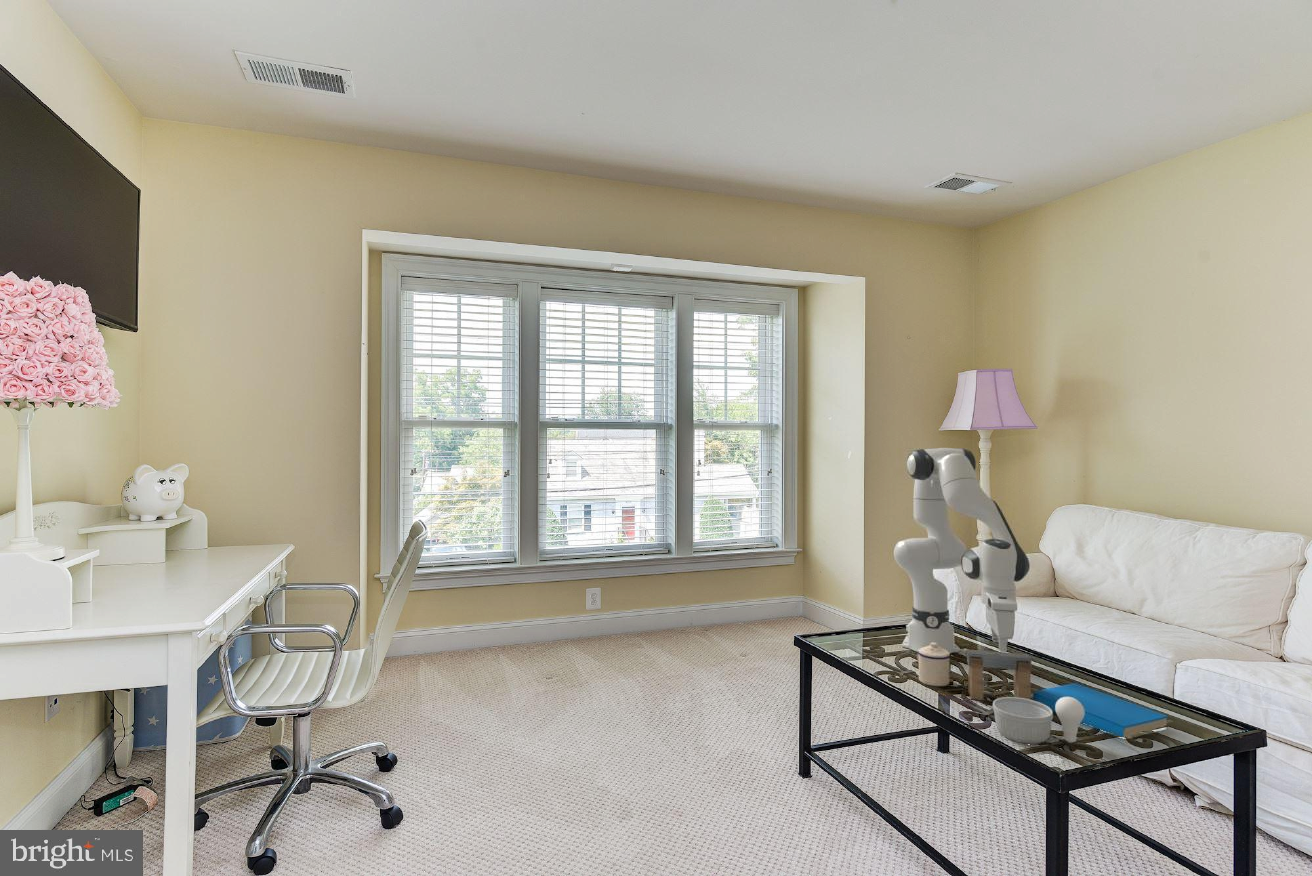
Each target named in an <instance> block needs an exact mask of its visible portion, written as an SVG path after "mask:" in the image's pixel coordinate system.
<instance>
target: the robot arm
mask: <svg viewBox="0 0 1312 876" xmlns="http://www.w3.org/2000/svg"><path fill="white" fill-rule="evenodd" d="M976 468H977V461H976V457H975V456H974V454H973V452H972V451H971V450H968V449H966V448H959V447H958V448H951V447H939V448H937V447H936V448H926V449H923V448H921V449H920V448H919V449H915V450H913V451H911V452H910V453H909V455H908V457H907V459H906V469H907V472H908V474H909V476H910V477H911V478H912V479H914V483H913V520H914V521H915V523H916V524H917V525H918V526H921V527H923V528H925V530H926V532H927V537H912V538H907V539H903V540H899V541H898V542H897V543H896V545H895V546H894V548H893V549H894V550H893V558H894V560H895V563H896V564H897V565H898V566H899V567H900V568H901V569H902V570H903V571H904V572H906V574H907V575H908V577H909V579H910V581H911V585H912V591H913V592H912V593H913V595H912V596H913V607H912V609H911V614H912V619H911V621H910V622H909V623H908V624H906V625H905V627H906V628H905V631H906V632H908V633H906V636H905V638H904V640H903V642H902V643H901V644H902V645H901V647H902V648H906V649H910V650H912V651H914V652H917V653H918V650H919V649H920V648H923V647H927V646H930V643H937V646H938V647H940V648H942V649H944V650H946V651H948V652H949V654H950V655H951V654H952V653H959V652H961V648H960V646H958V645H957V644H956V643H955V628H954V626H953V625H952V623H950V622H949V621H950V609H948V607H949V606H948V605H949V603H948V601H949V600H948V599H949V598H948V596H949V595H948V589H947V586H946V585H945V583H944V582H942V581H941V580H938V579H936V578H935V576H934V570H944V569H945V570H946V569H947V570H949V569H954V568H958V567H961V571H962V572H963V574H965V576H966V577H968V578H969V579H971V580H973V581H981V585H980V591H981V592H980V594H981V595H980V596H981V599H980V601H981V603H982V604H984V605H985V621H986V623H987V624H988V625H989V626H990V633H991V640H992V643H993V642H994V643H998V646H997V647H998V650H999V652H1006V653H1007V648H1008V647H1007V645H1008V642H1009V640H1012V639H1013V638H1014V636H1015V635H1014V634H1015V626H1016V624H1015V623H1016V611H1018V602H1017V590H1016V589H1017V588H1016V583H1015V582H1020V581H1022V580H1023V579H1024V578H1025V577H1026V576H1027V575H1028V573H1029V571H1030V560H1029V558H1028V556H1027V553H1025V551H1024V550H1023V549H1022V546H1021V545H1020V544H1019V542H1018V541H1017V539H1016V536H1015V535H1014V533H1013V531H1012V529H1011V527H1010V525H1009V523H1008V521H1007V519H1006V517H1005V515H1004V514H1003V511H1002V510H1001V508H1000V506H999V505H998V504H997V502H996V501H995V500H993V499H992V498H990V497H989V496H988V495H987V493H986V492H985V491H984V490H983V488H982V487H981V485H980V483H979V479H978V477H977V473H976ZM948 508H950V509H951V510H952V511H954V512H956V513H958V514H961V515H963V516H968V517H970V518H973V519H976V520H978V521H979V522H982V523H983V524H984V525H986V526H987V527H988V529H989V530H990V532H991V534H992V536H993V538H988V539H985V540H983V542H982V543H981V544H980V545H979V546H975V547H971V548H968V549H967V546H966V544H965V543H964V542H963V541H962V540H961V539H959V537H957V536H956V535H955V533H954V532H953V530H952V528H951V525H950V521H949V512H948Z"/></svg>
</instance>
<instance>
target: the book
mask: <svg viewBox="0 0 1312 876" xmlns="http://www.w3.org/2000/svg"><path fill="white" fill-rule="evenodd" d="M1062 697H1072V698H1075V699H1077V700H1078V701H1079V702H1080V703H1081V704H1082V706H1083V707H1084V711H1085V715H1084V718H1083V719H1082V721H1081V723H1080V724H1083V723H1085V724H1087V725H1086V726H1088V725H1091V726H1093V727H1096V728H1098V729H1101V730H1103V731H1106V732H1109V733H1113V734H1115V735H1118V736H1120V737H1128V736H1131V735H1135V734H1137V733H1140V732H1142V731H1147V730H1151V729H1155V728H1158V727H1163V726H1165V725H1167V726H1168V718H1169V716H1168V715H1166V714H1164V713H1161V712H1158V711H1156V710H1152V709H1149V708H1146V707H1144V706H1141V705H1138V704H1136V703H1132V702H1130V701H1127V700H1125V699H1121V698H1119V697H1115V696H1113V695H1111V694H1108V693H1104V692H1103V691H1099V690H1097V689H1094V688H1091V687H1089V686H1085V685H1083V684H1079V683H1078V682H1073V683H1068V684H1063V685H1062V684H1061V685H1058V686H1057V685H1056V686H1053V687H1048V688H1043V689H1037V690H1034V692H1033V695H1032V700H1033V701H1037V702H1039V703H1042V704H1044V705H1046V706H1048V707H1049V708H1050V709H1051V710H1052V712H1054V713H1056V710H1055V705H1056V702H1057V701H1058V700H1059V699H1060V698H1062ZM1085 724H1084V725H1085ZM1093 727H1092V728H1093Z"/></svg>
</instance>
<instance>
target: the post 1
mask: <svg viewBox="0 0 1312 876" xmlns="http://www.w3.org/2000/svg"><path fill="white" fill-rule="evenodd" d="M967 667H968V668H967V675H968V677H967V683H968V684H967V687H968V688H967V689H968V694H969V696H970V699H971V700H978V701H979V700H980V701H984V667H983V659H977V658H971V666H969V665H968V664H967Z"/></svg>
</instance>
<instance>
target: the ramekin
mask: <svg viewBox="0 0 1312 876" xmlns="http://www.w3.org/2000/svg"><path fill="white" fill-rule="evenodd" d="M992 709H993V713H994V714H993V715H994V720H995V727H996V729H997V731H998V732H999V733H1000V734H1001V735H1002V736H1003V737H1005V738H1007V739H1009V740H1011V741H1015V742H1019V743H1022V744H1032V745H1033V744H1035V745H1036V744H1042V743H1045V742H1046V741H1047V740H1048V739H1049V738H1050V735H1051V729H1052V720H1053V719H1054V714H1053V712H1054V711H1052V710H1051V709H1050V708H1049V707H1048V706H1046V705H1044V704H1042V703H1039V702H1037V701H1033V699H1031V700H1029V699H1024V698H1017V697H1014V696H1004V697H998V698H996V699H995V700H993V702H992ZM1041 742H1042V743H1041Z"/></svg>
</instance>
